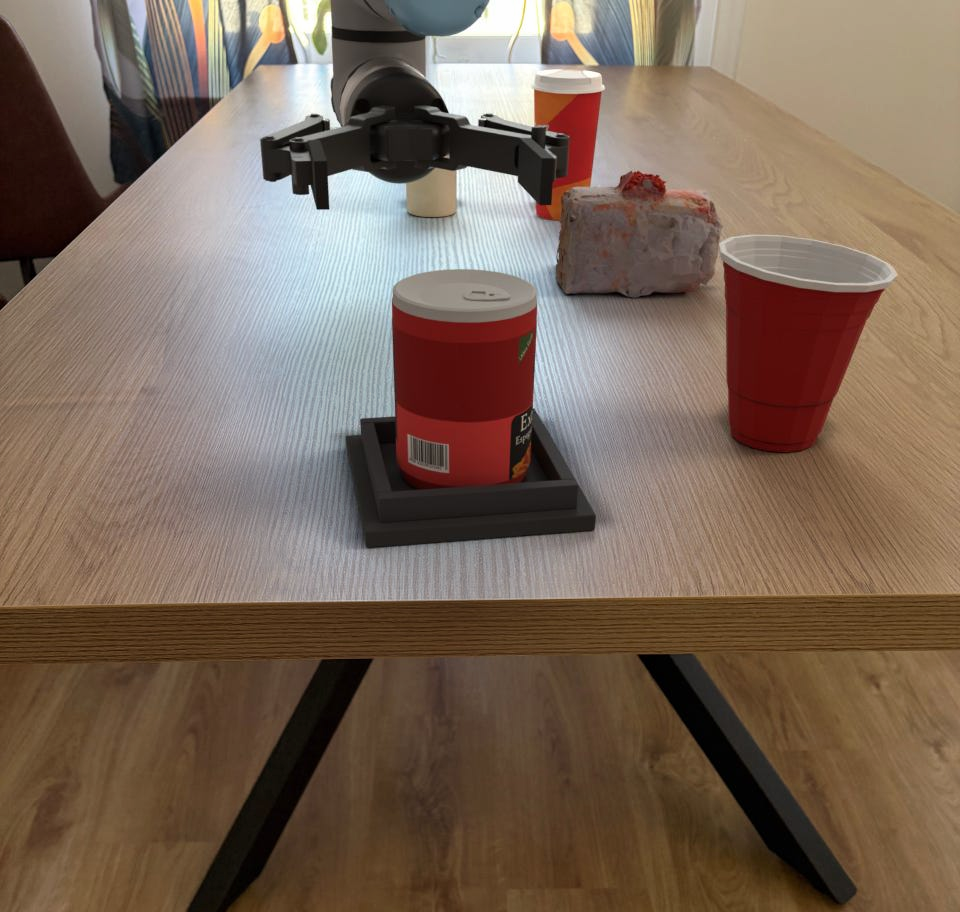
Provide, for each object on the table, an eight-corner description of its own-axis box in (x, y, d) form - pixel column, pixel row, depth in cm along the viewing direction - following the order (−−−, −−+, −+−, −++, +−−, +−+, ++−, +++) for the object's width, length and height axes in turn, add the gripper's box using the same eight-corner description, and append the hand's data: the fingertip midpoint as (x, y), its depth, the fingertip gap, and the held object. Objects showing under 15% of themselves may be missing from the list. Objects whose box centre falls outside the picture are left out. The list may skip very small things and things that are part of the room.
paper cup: (532, 203, 127) (538, 66, 119) (599, 208, 126) (609, 70, 118) (520, 220, 121) (525, 77, 113) (591, 225, 120) (601, 80, 112)
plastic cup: (885, 468, 71) (931, 276, 64) (717, 472, 70) (745, 278, 63) (827, 402, 80) (862, 228, 73) (678, 404, 79) (699, 228, 72)
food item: (695, 274, 105) (708, 162, 100) (717, 300, 99) (733, 182, 93) (551, 275, 104) (557, 162, 99) (564, 302, 98) (571, 182, 92)
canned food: (541, 496, 65) (551, 307, 58) (403, 505, 63) (398, 313, 57) (516, 442, 71) (522, 265, 65) (390, 449, 70) (384, 270, 63)
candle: (437, 220, 121) (437, 119, 115) (396, 212, 123) (394, 113, 117) (466, 210, 124) (466, 112, 119) (425, 203, 127) (424, 106, 121)
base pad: (366, 548, 61) (364, 507, 60) (346, 449, 72) (344, 413, 71) (595, 530, 63) (598, 490, 62) (543, 437, 74) (545, 401, 73)
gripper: (552, 171, 88) (630, 243, 71) (230, 176, 84) (230, 253, 67) (558, 65, 84) (642, 114, 67) (219, 65, 80) (216, 116, 63)
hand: (436, 184), depth 67 cm, fingers open, 13 cm apart
